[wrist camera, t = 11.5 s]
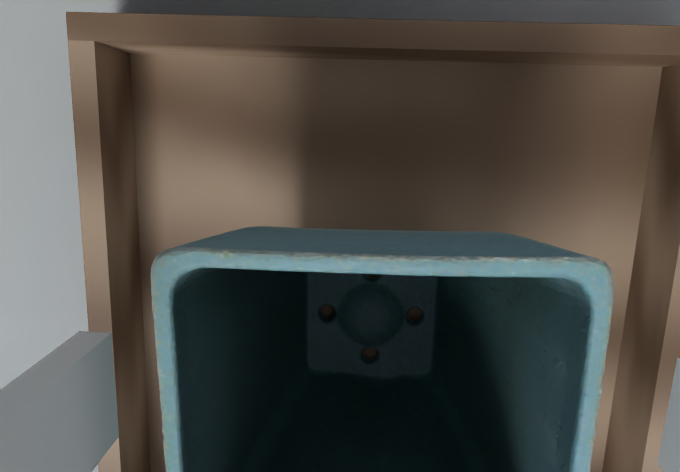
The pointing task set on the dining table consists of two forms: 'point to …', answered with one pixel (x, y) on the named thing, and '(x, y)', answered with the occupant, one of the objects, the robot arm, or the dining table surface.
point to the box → (381, 168)
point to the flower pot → (379, 352)
